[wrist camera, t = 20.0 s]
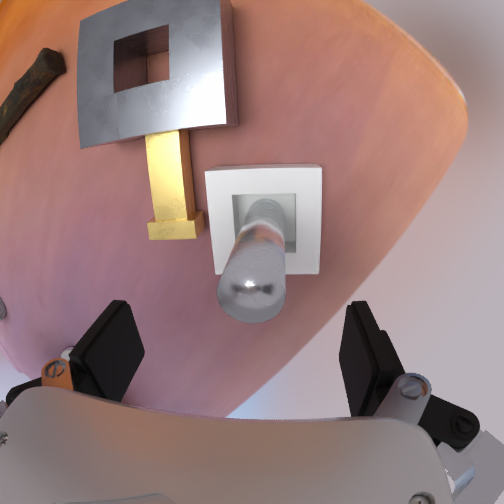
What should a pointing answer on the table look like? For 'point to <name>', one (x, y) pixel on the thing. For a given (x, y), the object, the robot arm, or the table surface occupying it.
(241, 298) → the grey cylindrical peg
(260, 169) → the tray
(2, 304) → the camera lens
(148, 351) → the table surface
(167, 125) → the socket
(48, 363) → the robot arm
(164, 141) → the key
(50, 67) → the hand tool
